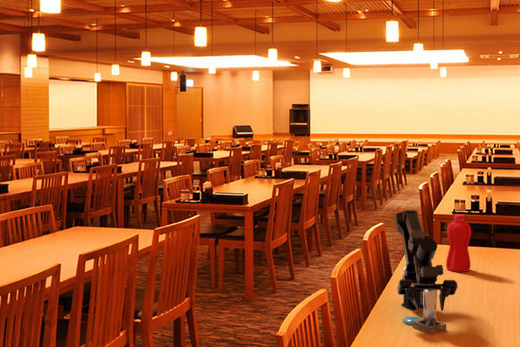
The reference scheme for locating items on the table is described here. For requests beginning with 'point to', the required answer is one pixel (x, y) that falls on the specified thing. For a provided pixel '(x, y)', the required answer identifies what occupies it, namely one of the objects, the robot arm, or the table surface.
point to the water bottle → (458, 244)
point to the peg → (429, 307)
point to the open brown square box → (427, 329)
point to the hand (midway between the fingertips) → (430, 310)
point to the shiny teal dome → (410, 320)
